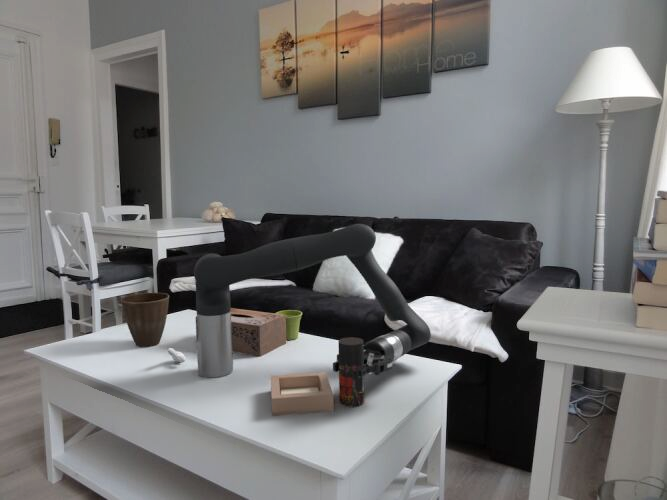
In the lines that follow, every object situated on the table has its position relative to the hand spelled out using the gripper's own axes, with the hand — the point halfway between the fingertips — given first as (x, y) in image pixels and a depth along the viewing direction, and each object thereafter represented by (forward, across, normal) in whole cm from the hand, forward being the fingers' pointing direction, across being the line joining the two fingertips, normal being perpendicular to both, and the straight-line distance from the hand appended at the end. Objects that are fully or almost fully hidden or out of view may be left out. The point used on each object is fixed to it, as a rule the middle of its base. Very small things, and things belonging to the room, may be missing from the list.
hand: (345, 370), depth 114 cm
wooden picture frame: (+4, -11, +8) cm, 14 cm away
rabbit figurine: (+6, -57, +9) cm, 58 cm away
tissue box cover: (-18, -55, +9) cm, 59 cm away
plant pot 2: (-32, -47, +9) cm, 57 cm away
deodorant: (-2, 0, +9) cm, 9 cm away
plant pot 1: (0, -81, +9) cm, 82 cm away
